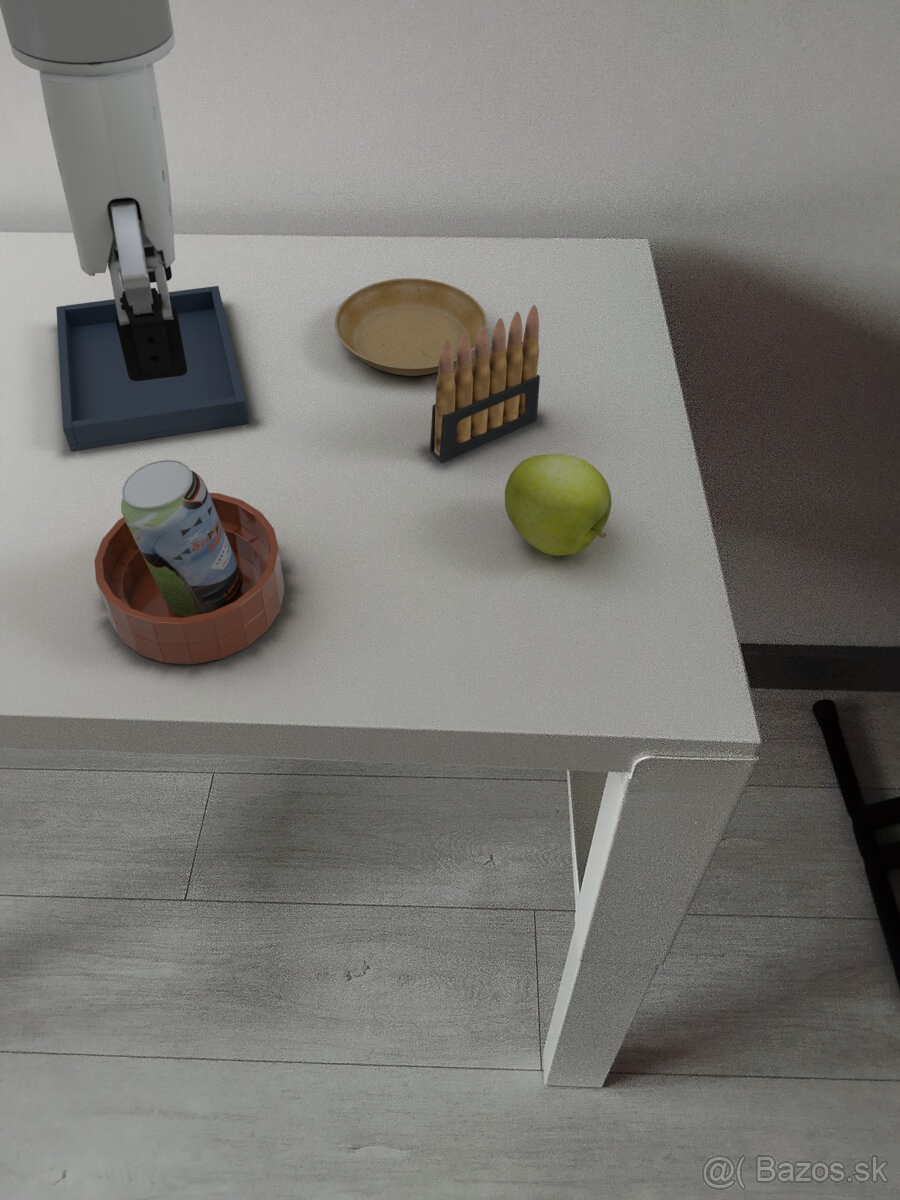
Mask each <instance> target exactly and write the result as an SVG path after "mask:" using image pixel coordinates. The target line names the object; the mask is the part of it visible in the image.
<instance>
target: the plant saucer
mask: <svg viewBox="0 0 900 1200" xmlns="http://www.w3.org/2000/svg"><path fill="white" fill-rule="evenodd" d="M333 325H334V331H335V333H336V336H337V337H338V339H339V341H340V342H341V343H342V344H343V346H344V347H345V348H346V349H347V350H348V351H349V352H350V353H351V354H352V355H353V356H355V357H356V358H358V359H359V360H360V361H362V363H365V364H367V365H368V366H371V367H373V368H374V369H377V370H379V371H382V372H384V373H387V374H392V375H397V376H406V377H407V376H409V377H412V376H413V377H414V376H417V377H418V376H426V375H431V374H435V373H438V369H439V359H440V353H441V349H442V346H443V343H444V342H445V340H446V339H448V340H449V342H450V344H451V348H452V352H453V361H454V366H456V361H457V352H458V346H459V342H460V339H461V337H462V335H463V333H464V332H466V333H467V334H468V337H469V340H470V345H471V354H472V353H473V352H475V343H476V338H477V335H478V332H479V330H480V328H481V326H482V325H484V326H485V327H486V330H487V331H488V318H487V314H486V312H485V310H484V308H483V307H482V306H481V304H480V303H479V302H478V300H476V299H475V298H474V297H473V296H471V295H470V294H469V293H467V292H465V291H464V290H462V289H460V288H458V287H456V286H454V285H451V284H449V283H445V282H442V281H437V280H433V279H427V278H420V277H419V278H417V277H416V278H415V277H407V278H405V277H403V278H393V279H386V280H382V281H378V282H374V283H372V284H368V285H366V286H364V287H362V288H360V289H358V290H357V291H354V292H353V293H352V294H351V295H349V296H347V298H346V299H345V300H343V301H342V302H341V304H340V305H339V307H338V308H337V310H336V313H335V316H334V324H333Z"/></svg>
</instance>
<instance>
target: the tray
mask: <svg viewBox="0 0 900 1200" xmlns="http://www.w3.org/2000/svg"><path fill="white" fill-rule="evenodd" d="M168 292H169V298H170V303H171V309H172V308H176V309H177V315H178V320H179V326H180V331H181V337H182V342H183V348H184V353H185V359H186V364H187V373H186V374H185V375H182V376H176V377H167V378H159V379H151V380H143V381H132V380H131V379H130V378H129V376H128V372H127V368H126V364H125V360H124V355H123V351H122V347H121V343H120V338H119V334H118V330H117V326H116V321H115V315H117V309H116V303H115V298H112V299H105V300H97V301H90V302H89V301H88V302H82V303H74V304H66V305H59V306H56V308H55V310H56V327H57V328H56V329H57V344H58V345H57V346H58V347H57V348H58V362H59V365H58V366H59V380H60V381H59V382H60V399H61V416H62V417H61V418H62V430H63V433H64V436H65V439H66V441H67V445H68V448H69V451H71V452H74V451H79V450H80V451H81V450H87V449H92V448H93V449H94V448H100V447H105V446H112V445H118V444H125V443H126V444H127V443H131V442H138V441H144V440H151V439H157V438H163V437H170V436H177V435H183V434H189V433H197V432H201V431H209V430H215V429H221V428H228V427H234V426H241V425H246V424H249V416H248V409H247V404H246V399H245V394H244V390H243V386H242V380H241V376H240V373H239V368H238V364H237V360H236V355H235V351H234V346H233V343H232V338H231V332H230V330H229V325H228V321H227V316H226V313H225V312H226V311H225V308H224V305H223V299H222V295H221V291H220V287H219V285H214V286H213V285H212V286H205V287H198V288H190V289H189V288H188V289H181V290H173V291H168Z"/></svg>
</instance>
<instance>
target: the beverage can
mask: <svg viewBox="0 0 900 1200" xmlns="http://www.w3.org/2000/svg"><path fill="white" fill-rule="evenodd" d="M209 493H210V492H209V489H208V487H207V485H206V483H205V481H204V479H203V478H202V477H201V476H200V474H198V473H197V472H195V471H194V470H192V469H191V468H190V467H189V466H188V465H187V464H186V463H184V462H182V461H179V460H175V459H161V460H155V461H153V462H149V463H146V464H145V465H142V466H141V467H139V468H138V469H136V470H134V471H133V472H132V473H131V474H130V475H129V476H128V477H127V479H126V480H125V481H124V482H123V485H122V489H121V494H122V497H121V503H120V511H121V515H122V518H123V517H124V519H125V521H126V523H127V525H128V527H129V530H130V532H131V534H132V536H133V538H134V540H135V542H136V544H137V546H138V548H139V550H140V552H141V554H142V556H143V558H144V560H145V562H146V564H147V566H148V568H149V570H150V572H151V574H152V576H153V578H154V580H155V582H156V584H157V586H158V588H159V590H160V592H161V594H162V596H163V598H164V600H165V602H166V604H167V606H168V607H169V608H170V610H172V611H173V612H174V613H176V614H178V615H180V616H183V617H189V616H194V615H200V614H205V613H210V612H213V611H215V610H217V609H219V608H222V607H224V606H226V605H228V604H230V603H232V602H233V601H234V599H235V598H236V597H237V596H238V594H239V592H240V590H241V587H242V582H243V578H242V574H241V571H240V569H239V566H238V564H237V561H236V559H235V556H234V554H233V551H232V549H231V546H230V544H229V541H228V539H227V536H226V534H225V532H224V529H223V527H222V524H221V522H220V519H219V517H218V514H217V512H216V509H215V507H214V504H213V502H212V499H211V497H210V494H209Z"/></svg>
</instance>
